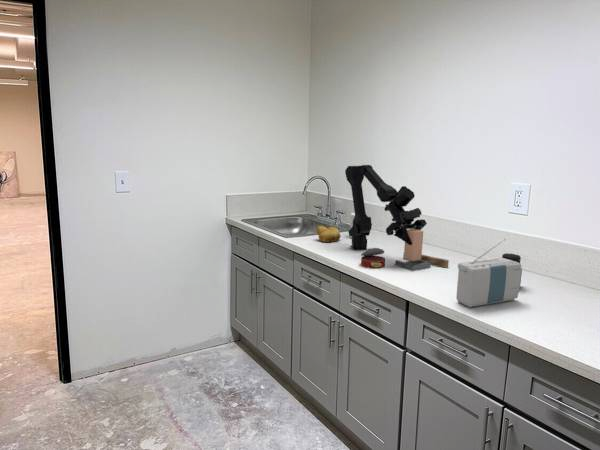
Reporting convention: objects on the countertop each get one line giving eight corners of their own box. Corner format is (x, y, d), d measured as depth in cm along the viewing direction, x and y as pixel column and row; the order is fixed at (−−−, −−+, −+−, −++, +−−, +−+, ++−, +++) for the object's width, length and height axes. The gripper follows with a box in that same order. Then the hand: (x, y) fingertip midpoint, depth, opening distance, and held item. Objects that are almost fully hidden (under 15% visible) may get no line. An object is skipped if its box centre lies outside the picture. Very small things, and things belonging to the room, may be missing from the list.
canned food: (362, 277, 194) (351, 255, 194) (370, 269, 203) (360, 248, 202) (386, 269, 188) (375, 246, 188) (393, 261, 197) (383, 239, 196)
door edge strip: (403, 258, 207) (403, 252, 206) (405, 257, 208) (406, 251, 208) (445, 268, 193) (446, 260, 193) (448, 267, 195) (448, 260, 194)
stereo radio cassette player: (470, 310, 147) (476, 247, 143) (452, 301, 154) (457, 242, 150) (519, 301, 155) (525, 242, 152) (499, 294, 163) (505, 237, 159)
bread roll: (336, 238, 247) (336, 223, 245) (345, 241, 238) (346, 226, 237) (314, 240, 241) (314, 224, 240) (323, 244, 233) (324, 228, 231)
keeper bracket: (394, 264, 197) (394, 260, 197) (411, 261, 203) (412, 257, 202) (412, 270, 188) (412, 266, 188) (430, 267, 194) (430, 262, 194)
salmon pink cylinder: (403, 258, 196) (405, 229, 193) (412, 256, 198) (414, 228, 196) (412, 261, 192) (414, 232, 189) (421, 259, 194) (423, 231, 192)
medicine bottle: (517, 290, 166) (521, 257, 164) (496, 287, 170) (499, 254, 168) (520, 285, 172) (523, 253, 170) (499, 282, 176) (502, 250, 174)
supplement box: (365, 239, 245) (366, 215, 243) (350, 238, 245) (351, 214, 243) (363, 236, 252) (364, 212, 250) (349, 235, 252) (350, 212, 250)
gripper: (392, 203, 189) (410, 235, 182) (425, 200, 199) (443, 230, 192) (378, 219, 197) (395, 250, 190) (410, 215, 207) (427, 245, 200)
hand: (416, 244), depth 193 cm, fingers closed on salmon pink cylinder, 5 cm apart
